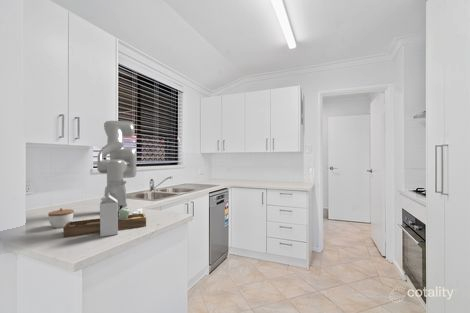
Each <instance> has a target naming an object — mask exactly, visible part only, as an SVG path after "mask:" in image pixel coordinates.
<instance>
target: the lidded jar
mask: <svg viewBox="0 0 470 313" xmlns="http://www.w3.org/2000/svg"><path fill="white" fill-rule="evenodd" d="M74 212H75V211H74V209H72V208H71V209H70V208H68V209H67V208H66V209H63V208H59V210H53V211H50V212H48V213H47V215H48V221H49V225H51V226H52V227H53V228H55V229H60V228H63V227H64V226H65V225H66V224H67V223H68V222H73V219H74Z"/></svg>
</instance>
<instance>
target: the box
mask: <svg viewBox="0 0 470 313" xmlns="http://www.w3.org/2000/svg"><path fill="white" fill-rule="evenodd" d="M143 227H147V217H146V214H145V213H144V212H142V214H134V215H132V214H129V215H128V218H127V220H120V219H118V231H120V230H121V231H122V230H127V229H134V228H136V229H137V228H143ZM62 228H63V230H62V231H63V232H62V233H63V236H62V237H63V238H71V237H77V236H78V237H79V236H85V235H91V234H92V235H93V234H100V217H99V218H93V219H91V218H90V219H82V220H75V221H73V220H72V222H68V223H67V224H66V225H65V226H64V227H62Z"/></svg>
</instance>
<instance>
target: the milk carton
mask: <svg viewBox="0 0 470 313" xmlns="http://www.w3.org/2000/svg"><path fill="white" fill-rule="evenodd" d="M99 218H100V233H99V235H100V237H99V238H103V237H107V236H108V237H109V236H116V235H118V234H119V230H118V200H117V199H115V198H114V197H112V196H111V195H109V194H108V196H107V197H105V196H104V195H103V197H101V198H100V203H99Z"/></svg>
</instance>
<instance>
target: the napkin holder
mask: <svg viewBox="0 0 470 313" xmlns="http://www.w3.org/2000/svg"><path fill="white" fill-rule="evenodd" d="M142 213H143V208H138V209H136V211H134V210H133V212H132V214H131V215H134V214H142Z"/></svg>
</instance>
